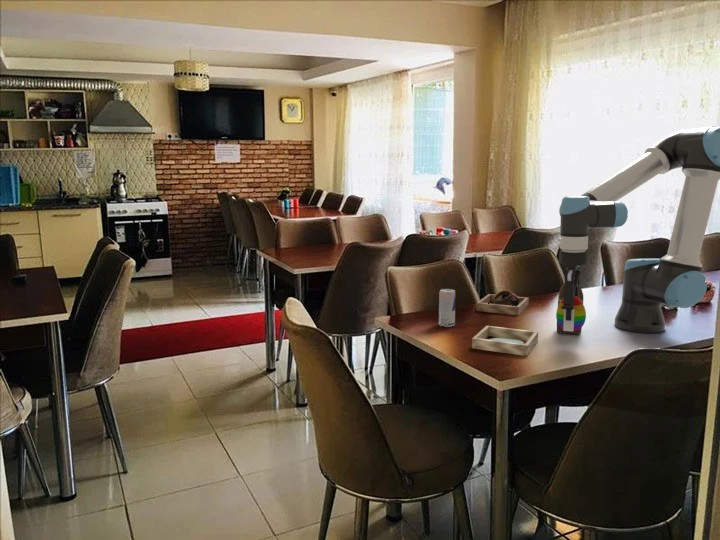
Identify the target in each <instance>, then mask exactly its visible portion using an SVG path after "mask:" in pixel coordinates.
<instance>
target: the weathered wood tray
mask: <svg viewBox="0 0 720 540" xmlns="http://www.w3.org/2000/svg"><path fill="white" fill-rule="evenodd" d="M495 295H496V294H491V293H488V294H487V295H484V297H483V298H481V299H480V300H479V301H477V302H476V305H475V306H476V308H475V309H476V310H475V311H476V312H482V311H483V313H493V314H501V315H502V314H503V315H511V316H520V315H521V314H522V313H523V312H524V311H525V309H527V307H528V306H529V303H530V302H529V301H530V299H529V297H525V296H522V297H521V296H517V297H518V299H519V302H520V304H519V305H518V306H512V304H511V303H510V304H511V306H510V305H498V304H494V296H495ZM496 300H503V299H502V297H501V296H500V297H498V298H497V299H496ZM488 303H489V304H488Z"/></svg>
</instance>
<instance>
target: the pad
mask: <svg viewBox="0 0 720 540" xmlns="http://www.w3.org/2000/svg"><path fill="white" fill-rule="evenodd" d="M488 340H495V341H503V342H511V343H518V344H525V342H524V341H523V340H517V339H512V338H501V337H493V338H489V339H488Z"/></svg>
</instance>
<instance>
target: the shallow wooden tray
mask: <svg viewBox="0 0 720 540" xmlns="http://www.w3.org/2000/svg"><path fill="white" fill-rule="evenodd" d="M489 337H493V338H512V339H517V340H520V341H523V342H524V341H526V342H524V344H518V343H511V342H503V341H495V340H489V339H488V338H489ZM538 342H539V331H537V330H536V331H534V330H527V329H516V328H509V327H500V326H491V325H485V326H484V327H483V328H482V329H481V330H479V332H477V334H476V335H474V336H473V337H472V338H471V349H474V350H475V349H476V350H482V351H489V352H496V353H504V354H509V355H510V354H511V355H518V356H525V357H528V355H529V354H530V353H531V351H532V350H533V349H534V348H535V346H536V345H537V343H538Z"/></svg>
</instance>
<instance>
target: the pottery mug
mask: <svg viewBox="0 0 720 540" xmlns="http://www.w3.org/2000/svg"><path fill="white" fill-rule="evenodd" d="M494 295H495V296H494V302H493V304H498V305H508V306H518V305H519V304H520V302H519V299H518V297H519V296H517V295H516V294H515V293H514V292H512V290H510V289H504V290H501V291H499V292H497V293H496V294H494ZM500 296H501V297H502V299H503V300H496V299H497V298H498V297H500ZM510 303H511V304H510Z"/></svg>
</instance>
